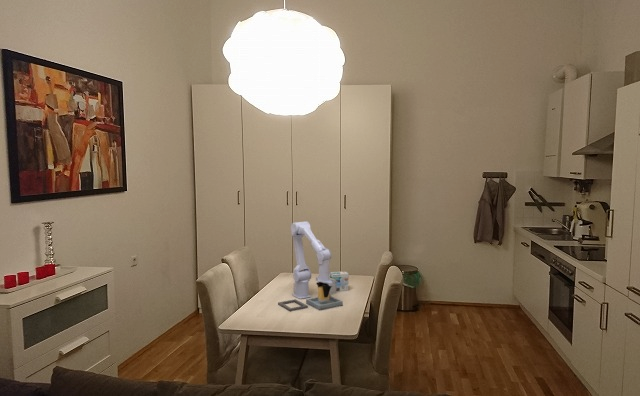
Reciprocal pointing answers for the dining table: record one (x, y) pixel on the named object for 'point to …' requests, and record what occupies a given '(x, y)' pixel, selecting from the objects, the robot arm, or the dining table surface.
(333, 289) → the medicine box
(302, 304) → the holder frame
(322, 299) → the block
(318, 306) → the parts tray
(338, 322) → the dining table surface
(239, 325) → the dining table surface
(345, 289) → the white printed carton
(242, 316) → the dining table surface
